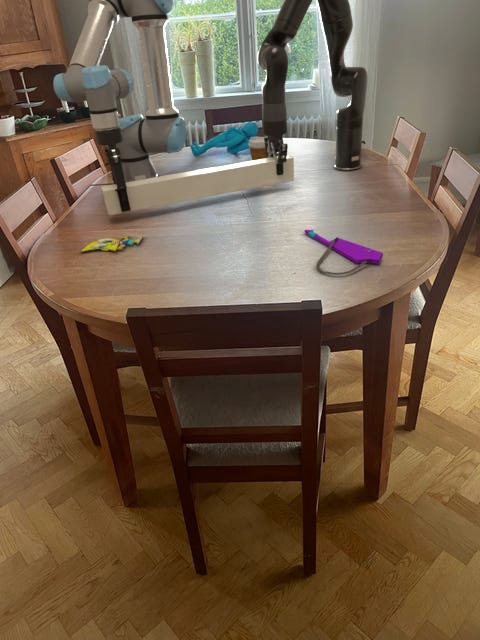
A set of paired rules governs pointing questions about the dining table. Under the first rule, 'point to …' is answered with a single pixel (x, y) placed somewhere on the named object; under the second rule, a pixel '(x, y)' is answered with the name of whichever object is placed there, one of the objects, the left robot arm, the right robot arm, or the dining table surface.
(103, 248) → the toy
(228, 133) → the toy
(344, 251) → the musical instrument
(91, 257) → the dining table surface
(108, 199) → the post
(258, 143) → the disposable coffee cup
